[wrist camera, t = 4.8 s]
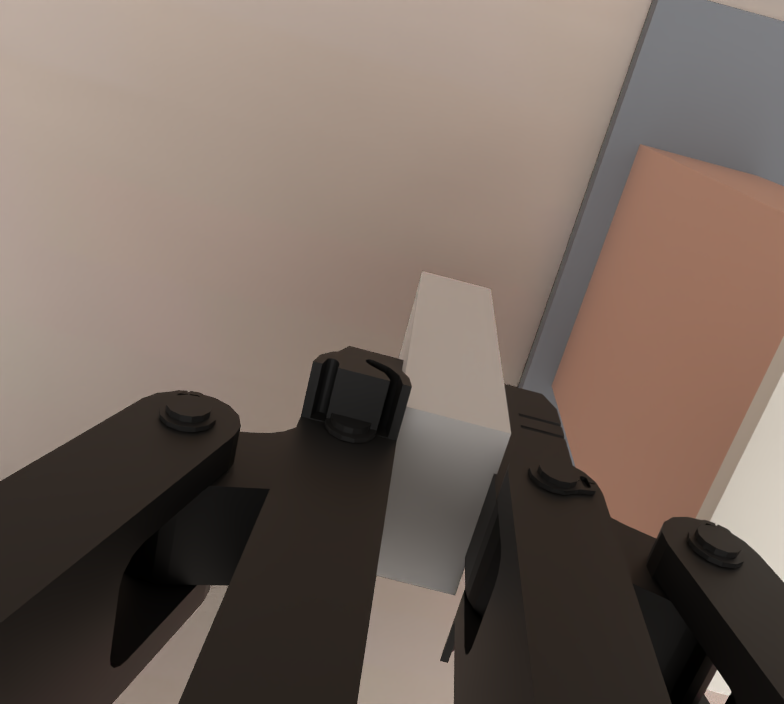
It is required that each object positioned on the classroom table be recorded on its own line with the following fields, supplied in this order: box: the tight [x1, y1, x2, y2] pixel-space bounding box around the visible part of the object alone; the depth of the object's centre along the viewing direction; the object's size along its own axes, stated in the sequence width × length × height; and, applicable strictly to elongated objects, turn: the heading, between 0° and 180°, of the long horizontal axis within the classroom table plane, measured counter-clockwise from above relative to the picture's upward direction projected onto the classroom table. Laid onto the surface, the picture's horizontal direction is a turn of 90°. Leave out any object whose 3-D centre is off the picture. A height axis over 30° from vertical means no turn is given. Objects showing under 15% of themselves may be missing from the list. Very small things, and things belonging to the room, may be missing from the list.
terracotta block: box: [552, 144, 784, 696], centre depth 20 cm, size 4×9×14 cm, turn 166°
